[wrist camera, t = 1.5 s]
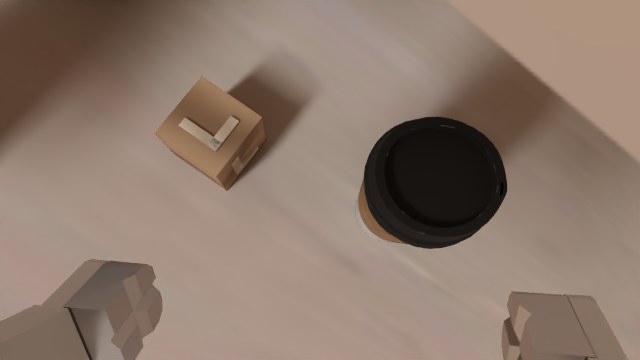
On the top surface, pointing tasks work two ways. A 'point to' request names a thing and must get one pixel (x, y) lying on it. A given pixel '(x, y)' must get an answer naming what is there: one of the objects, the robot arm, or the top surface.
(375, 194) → the coffee cup
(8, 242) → the top surface
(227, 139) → the lettered cube
